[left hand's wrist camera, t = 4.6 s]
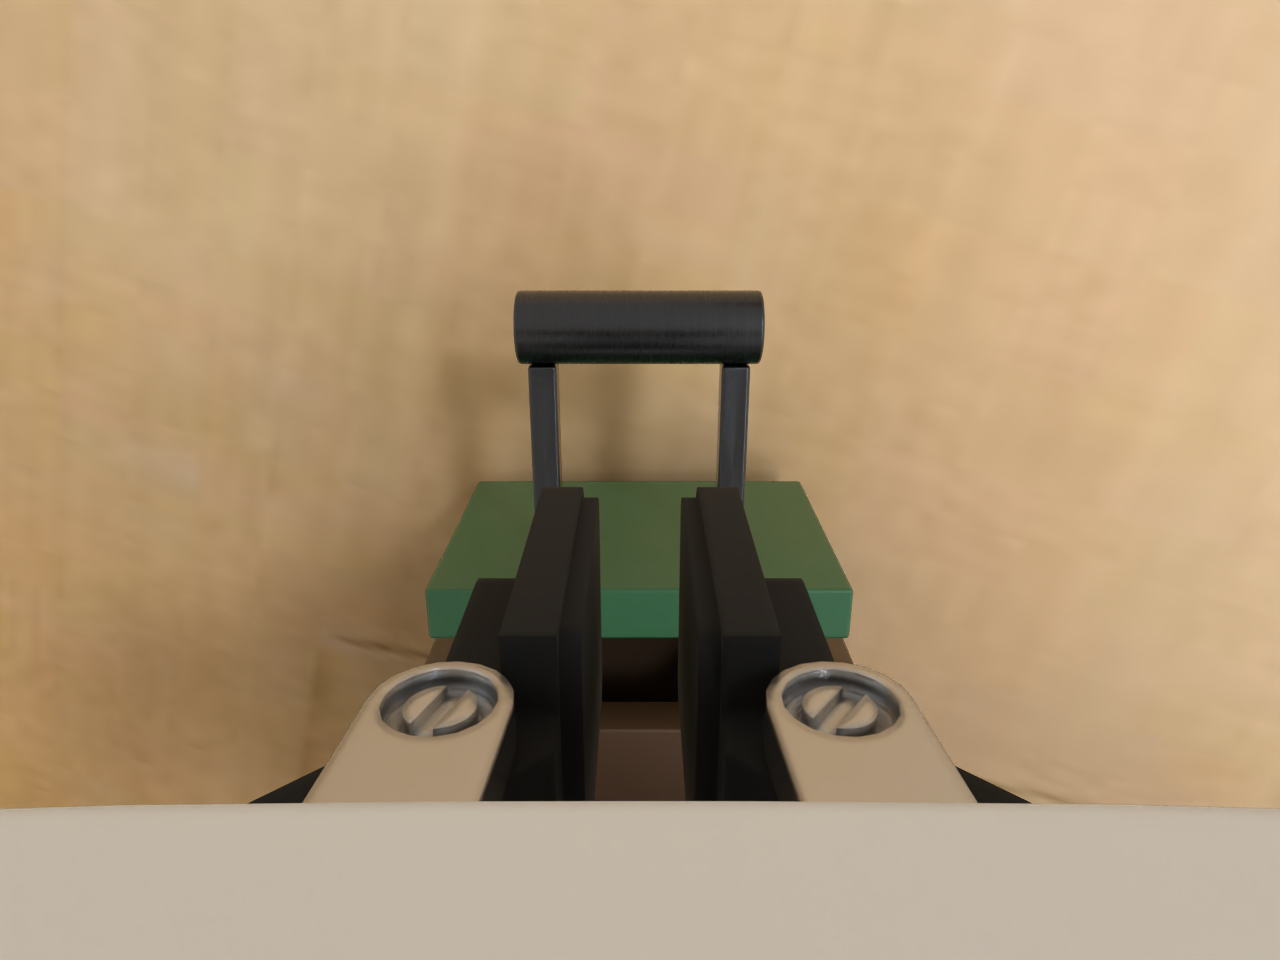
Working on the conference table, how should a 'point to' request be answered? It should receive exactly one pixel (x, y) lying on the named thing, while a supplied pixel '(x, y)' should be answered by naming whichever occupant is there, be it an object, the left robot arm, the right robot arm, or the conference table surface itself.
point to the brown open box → (639, 742)
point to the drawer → (638, 511)
